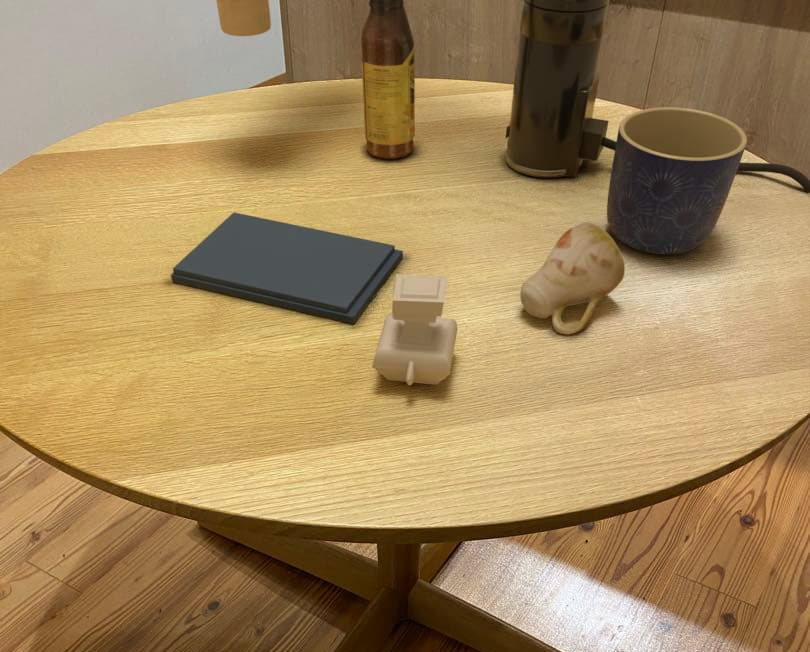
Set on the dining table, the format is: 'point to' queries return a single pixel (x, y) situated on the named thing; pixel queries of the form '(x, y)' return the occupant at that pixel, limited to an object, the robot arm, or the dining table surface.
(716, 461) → the dining table surface
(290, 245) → the dark grey rectangular slab
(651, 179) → the planter
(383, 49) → the sauce bottle
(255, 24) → the candle
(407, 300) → the beige blocky piece
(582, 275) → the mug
